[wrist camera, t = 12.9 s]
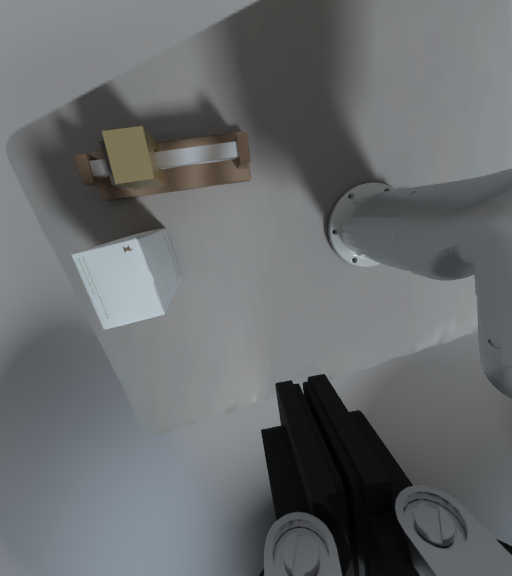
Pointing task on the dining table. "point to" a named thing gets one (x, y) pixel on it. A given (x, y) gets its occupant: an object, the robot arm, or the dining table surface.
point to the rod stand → (176, 165)
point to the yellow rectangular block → (134, 158)
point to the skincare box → (130, 277)
